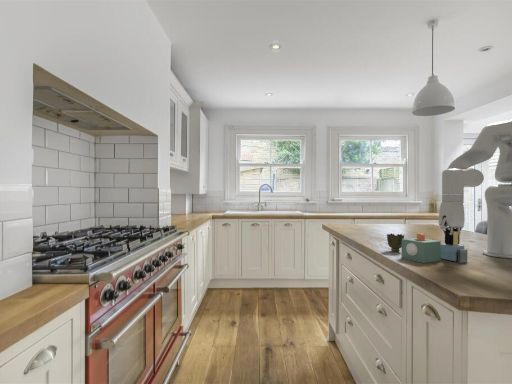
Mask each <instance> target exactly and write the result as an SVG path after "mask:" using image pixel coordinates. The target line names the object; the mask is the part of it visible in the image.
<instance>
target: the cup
mask: <svg viewBox="0 0 512 384" xmlns="http://www.w3.org/2000/svg"><path fill="white" fill-rule="evenodd" d="M386 238H387V245H388V247H390V248H391V249H390V250H391V252H393V253H399V252H400V249H402V239H405V235H404V234H402V233H400V234H399V233H397V234H395V233H386Z"/></svg>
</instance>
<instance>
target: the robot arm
mask: <svg viewBox="0 0 512 384" xmlns="http://www.w3.org/2000/svg"><path fill="white" fill-rule="evenodd" d="M471 145H472V146H471V147H470V148H469V149H467V150H466V151H464V152H463V153H461V154H460V155H459V156H458V157H456V158H455V159H453V160H452V161H451V162H450V164H449V165H448V167H447V168H446V169H444V170H443V171H442V172H441V202H440V206H439V211H438V212H439V213H438V225H439V226H440V229H441V230H442V232H443V234H444V244H449V245H453V235H452V232H453V231H456V232H458V245H460V237H461V236H460V235H461V231H462V229H463V228H464V227H465V226H464V225H465V219H466V218H465V216H466V215H465V207H464V203H465V202H464V199H465V197H464V191H465V189H464V188H475V187H479V186H481V184H482V183H483V182H484V179H485V177H484V173H483V172H482V171H481V170H478V169H477V168H471V167H474V166H476V165H479V164H482V163H485V162H487V161H489V160H490V159H492V157H493V156H494V154H495V152H496V151H497V149H499V156H498V161H497V163H496V166H495V171H494V179H495V181H496V182H498V184H493V185H489V186H488V187H486V189H485V191H484V199H485V203H486V210H487V212H486V213H487V215H486V216H487V217H486V218H487V222H486V224H487V225H486V227H487V228H486V229H487V230H486V235H487V236H486V249H485V250H482V254H483V255H485V256H489V257H495V258H504V259H512V208H511V207H512V119H510V120H505V121H503V120H502V121H499V122H494V123H489V124H488V125H485V126H484V127H483V128H482V129H481V131H480V133H479V134H478V136H477V137H476V139H475V140H474V142H473V144H471ZM500 183H501V184H500Z"/></svg>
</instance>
